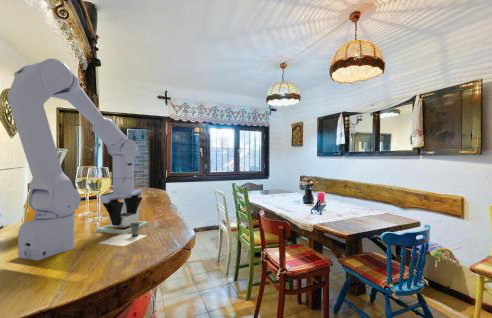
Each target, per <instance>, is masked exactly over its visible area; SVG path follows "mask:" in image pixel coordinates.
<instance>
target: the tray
mask: <svg viewBox="0 0 492 318" xmlns="http://www.w3.org/2000/svg"><path fill="white" fill-rule="evenodd" d="M138 223H140V225H139V229H142V228H144V227H146V226H148V225H149V224H150V223H149V221H143V220H142V221H140V220H138ZM96 232H98V233H106V234H107V233H109V234H117V235H120V234H130V233H132V230H131V227H127V228H126V229H118V228H113V227H112V226H110V223H109V224H107V225H104V226H100V227H97V228H96Z"/></svg>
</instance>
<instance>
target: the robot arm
mask: <svg viewBox="0 0 492 318" xmlns="http://www.w3.org/2000/svg"><path fill="white" fill-rule="evenodd" d="M13 76H14V79H13V80H12V83H11V86H10V87H9V90H8V93H7V95H6V97H7V102H8V106H9V108H10V111H11V114H12V118H13V121H14V125H15V127H16V130H17V133H18V136H19V140H20V142H21V146H22V148H23V151H24V154H25V155H24V156H25V158H26V161H27V164H28V168H29V170H30V173H31V177H32V179H31V180H30V182H29V183H30V184H29V189H30V196H29V200H28V199H27V203H28V202H29V206H30V207H31V208H32V209H33V210H35V215H34V219H33V220H31V221H28V220H27V221H25V222H23V223H22V224H21V225H20V226H19V229H18V235H17V239H18V241H17V242H18V243H17V246H18V249H17V250H18V256H17V257H18V258H19V259H26V260H32V261H40V260H43V259H46V258H48V257H52V256H55V255H58V254H60V253H65V252H67V251H70V250H72V249H73V248H74V247H75V215H76V211H77V210H78V208H79V207H80V205H81V201H82V197H81V194H80V192H79V191H78V190H77V189H76V188H75V187H74V185H73V181H72V180H71V179H70V178H69V176H67V175H66V174H65V173H64V171H63V167H62V165H61V162H60V157H59V154H58V151H57V148H56V144H55V141H54V137H53V133H52V130H51V127H50V123H49V119H48V116H47V113H46V109H45V107H44V106H45V103H47V101H48V100H49V99H50V98H55V99H60V100H63V101H67V102H68V103H69V104H71V106H72V107H74V109H75V110H77V111H78V112H79V113H80V114H81V115H82V116H83V117H84V118H85V119H86V120H88V121H89V122H90V124H91V125H92V128H91V130H92V133H94V134H95V135H96V136H97V137H98V139H100V140H101V142H102V143H104V145H105V146H106V148H107V152H108V155H110V156H111V157H112V192H111V193H108V194H104V195H100V204H102V205H103V207H104V208H105V209H106V211H107V213H108V216H110V218H111V222H112V225H116V226H118V225H120V220H121V210H122V206H123V204H124V202H121V201H120V200H124V201H125V204H126V209H127V212H128V213H136V212H137V208H138V206H139V207H140V204H141V202H142V200H143V197H142V196H143V195H144V190H143V188H141V189H135V181H134V180H135V178H134V177H135V175H134V173H135V171H134V170H135V167H134V166H135V165H134V164H135V162H136V156H137V155H138V152H139V148H138V146H137V143H136V142H135V140H133V139H130V138H128V137H127V135H126V134H125V133H123V131H122V130H121V129H120V128H119V127H118V126H117V122H116V121H115V120H112V119H111V118H109V117H105V116H104V115H103V114H102V113H101V111H99V109H98V107H96V105H95V104H94V102H93V101H92V100H91V99H90V97H89V96H88V95H87V93H86V92H85V91H84V90H83V88H82V87H81V85H80V81H79V78H78V77H77V75H76V74H74V73H73V71H72V70H71V69H70V67H69V66H68V65H67V64H66V63H64V62H63V61H61V60H59V59H57V58H47V59H45V60H43V61H39V62H36V63H33V64H29V65H25V66H23V67H21V68H20V69H18V70H17V71H14V73H13Z"/></svg>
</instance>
